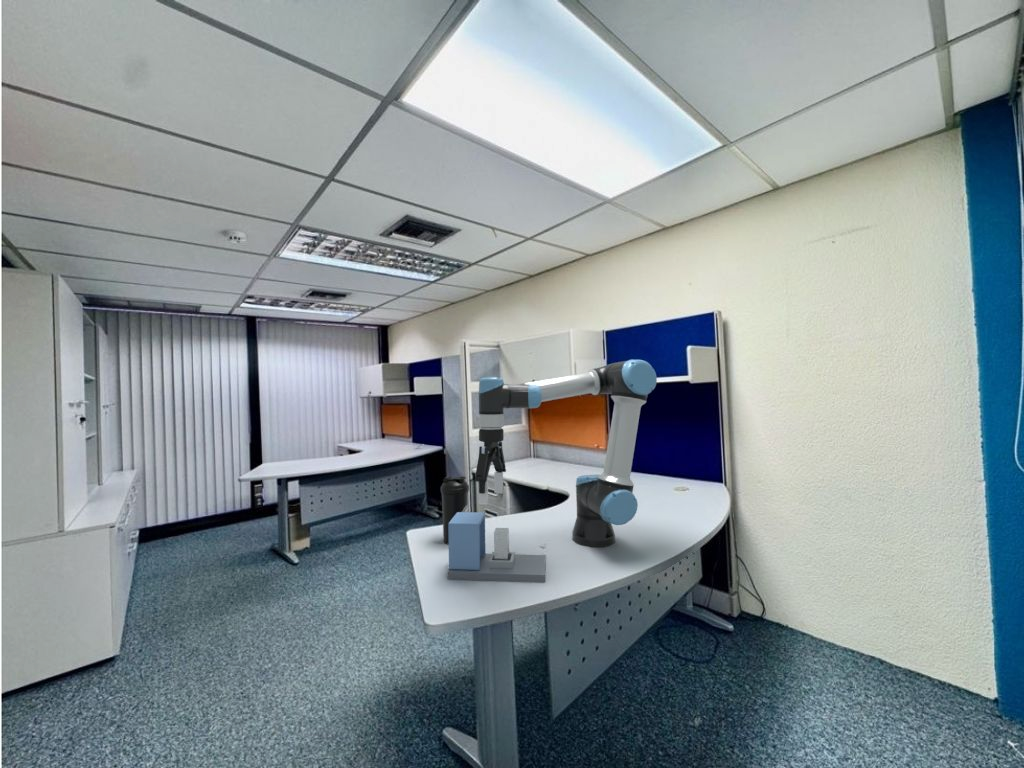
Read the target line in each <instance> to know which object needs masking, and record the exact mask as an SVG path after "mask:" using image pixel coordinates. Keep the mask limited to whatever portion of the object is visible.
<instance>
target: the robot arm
mask: <svg viewBox="0 0 1024 768" xmlns="http://www.w3.org/2000/svg"><path fill="white" fill-rule="evenodd" d="M657 380H658V379H657V373H656V371H655V369H654V368H653V367H652V365H651V363H649V362H648V361H646V360H642V359H628V360H624V361H618V362H613V363H610V364H609V363H608V364H606V365H604V366H599V367H595V368H591V369H589V370H588V371H587V372H583V373H578V374H570V375H565V376H560V377H559V376H558V377H553V378H547V379H540V380H535V381H529V382H524V383H517V384H514V383H512V384H511V383H510V384H508V383H505V382H504V379H503V378H502V377H482V378H480V380H479V381H478V383H479V384H478V394H477V395H478V417H477V421H478V426H479V430H478V440H479V442H483V446H482V445H481V446H479V449H478V450H479V451H478V460H477V464H476V470H475V475H474V476H475V477H474V482H478V484H477V486H478V488H477V491H478V492H477V493H478V495H477V497H478V503H477V504H478V505H486V506H487V505H489V481H488V476H489V472H490V468H491V465H492V464H493V467H494V468H493V469H495V472H493V473H494V475H493V476H494V477H493V479H494V484H493V487H494V494H501V495H502V494H504V473H506V472H507V469H506V462H505V456H504V450H503V441H504V435H505V434H504V432H505V431H504V429H503V428H504V425H505V424H504V421H505V420H504V419H505V418H504V409H537V408H539V407H540V406H541V405H542V404H541V403H542V402H548V401H552V400H553V401H554V400H559V399H565V398H571V397H576V396H581V395H589V394H591V395H593V396H598V395H599V396H600V395H610V398H611V400H612V401H613V403H614V404H613V411H612V416H611V417H612V418H611V424H610V429H609V430H610V431H609V436H608V442H607V449H606V455H605V460H604V461H605V462H604V468H603V472H602V473H601V474H585V475H579V476H577V478H576V480H575V492H576V495H575V496H576V519H575V522H574V526H573V529H572V532H571V533H572V536H571V538H572V541H574V542H575V543H576V544H579V545H581V546H587V547H594V548H596V547H597V548H599V547H607V546H610V545H613V544H614V543H615V542H616V535H615V530H614V527H613V525H614V526H623V525H626V524H627V523H629V522H630V521H632V520H633V519H634V517H635V516H636V513H637V511H638V507H639V506H638V500H637V498H636V496H635V494H634V493H633V491H634V482H633V481H632V479H631V473H632V467H633V459H634V453H635V447H636V440H637V433H638V429H639V427H638V426H639V419H640V415H641V408H642V406H643V405H645V404H646V403H647V399H648V395H649V394H651V393H652V391H654V389H655V388H656V386H657Z"/></svg>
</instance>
